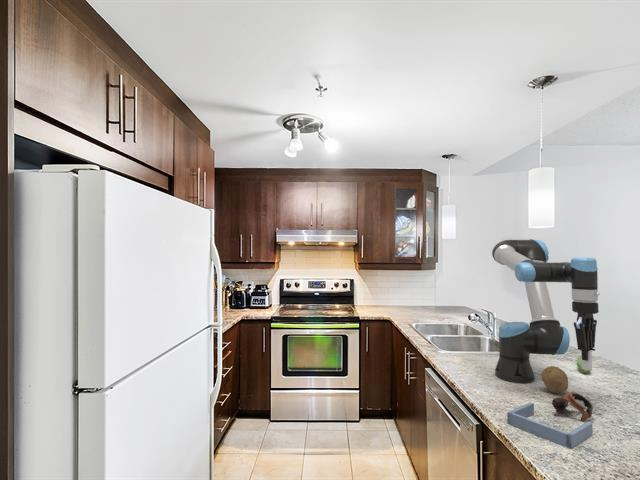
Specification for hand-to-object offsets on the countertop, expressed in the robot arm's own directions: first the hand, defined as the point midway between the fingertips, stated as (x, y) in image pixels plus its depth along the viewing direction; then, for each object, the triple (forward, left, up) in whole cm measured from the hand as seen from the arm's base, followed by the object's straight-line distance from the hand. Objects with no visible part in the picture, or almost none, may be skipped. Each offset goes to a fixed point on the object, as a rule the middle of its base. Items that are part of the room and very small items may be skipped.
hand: (586, 369), depth 128 cm
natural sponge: (-13, +6, -14) cm, 20 cm away
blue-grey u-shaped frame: (0, -27, -14) cm, 30 cm away
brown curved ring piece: (-1, -11, -14) cm, 18 cm away
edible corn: (-20, +48, -14) cm, 54 cm away
